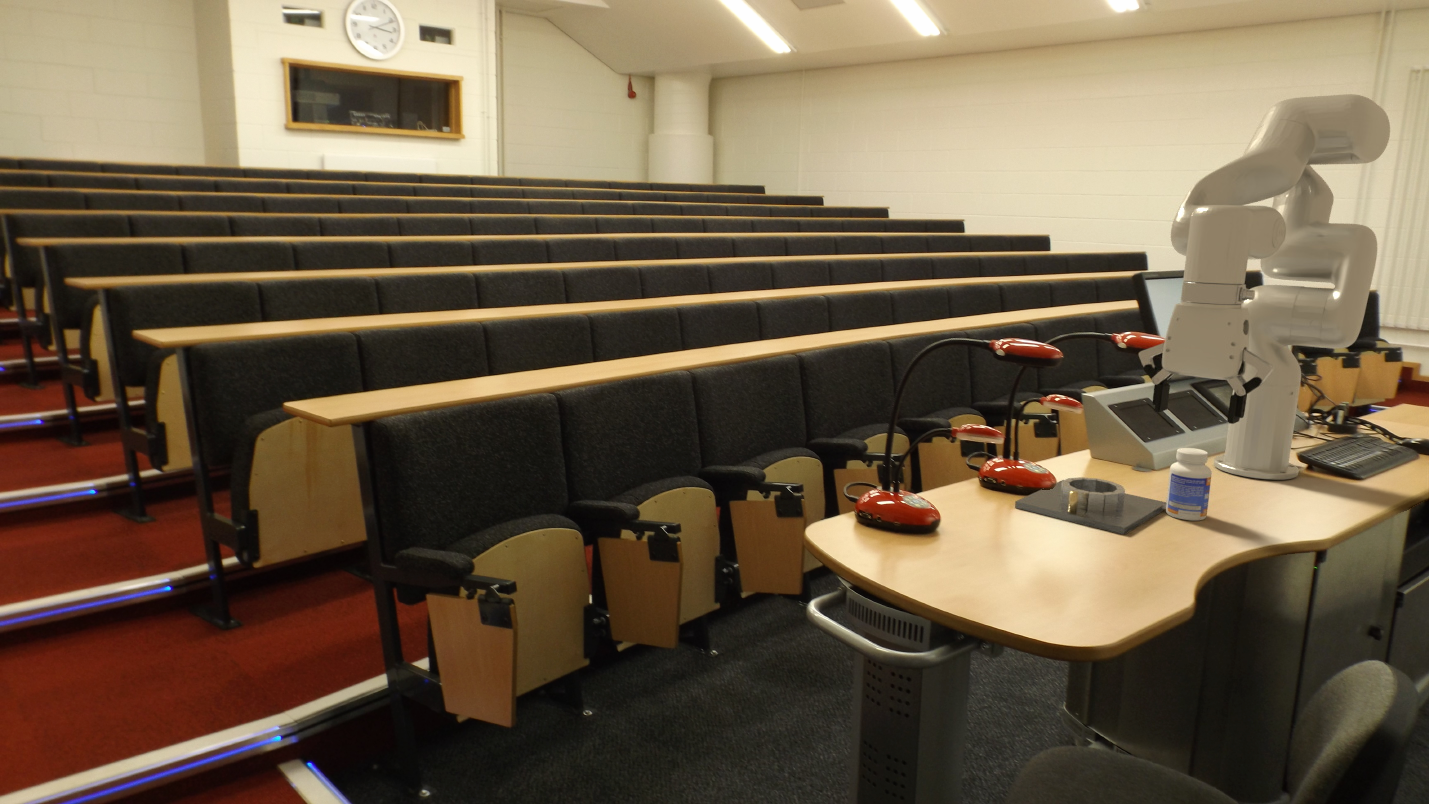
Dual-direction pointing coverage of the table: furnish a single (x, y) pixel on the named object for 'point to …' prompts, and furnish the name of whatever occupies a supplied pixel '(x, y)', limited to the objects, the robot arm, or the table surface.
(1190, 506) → the pill bottle
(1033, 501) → the flange base
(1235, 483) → the table surface
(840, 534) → the table surface
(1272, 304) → the robot arm
